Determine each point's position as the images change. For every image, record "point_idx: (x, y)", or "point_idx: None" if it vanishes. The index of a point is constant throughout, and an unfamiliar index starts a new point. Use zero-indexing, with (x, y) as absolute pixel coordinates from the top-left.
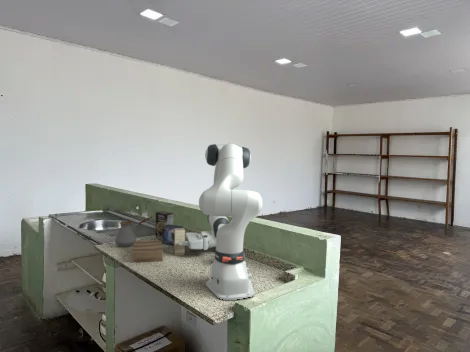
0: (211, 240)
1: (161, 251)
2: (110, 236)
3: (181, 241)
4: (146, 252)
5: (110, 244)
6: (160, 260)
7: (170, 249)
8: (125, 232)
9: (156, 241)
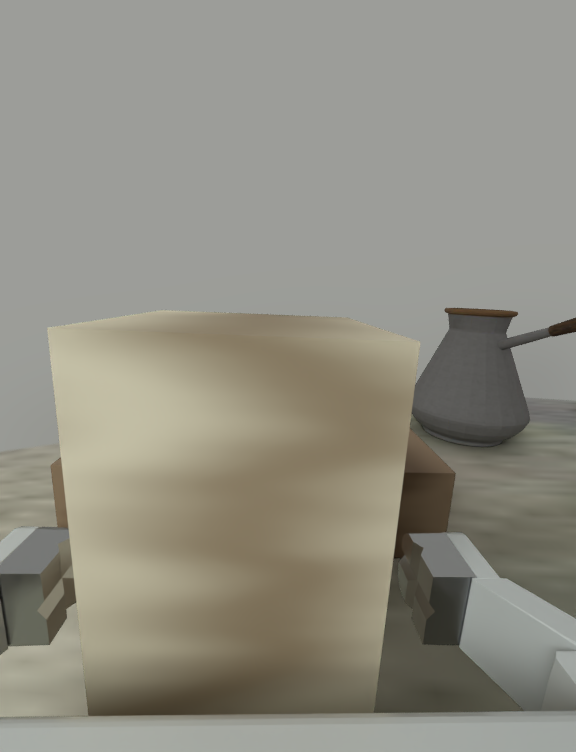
0: None
1: (58, 464)
2: (570, 408)
3: (9, 554)
4: None
5: None
6: None
7: (461, 650)
8: (437, 355)
9: None
